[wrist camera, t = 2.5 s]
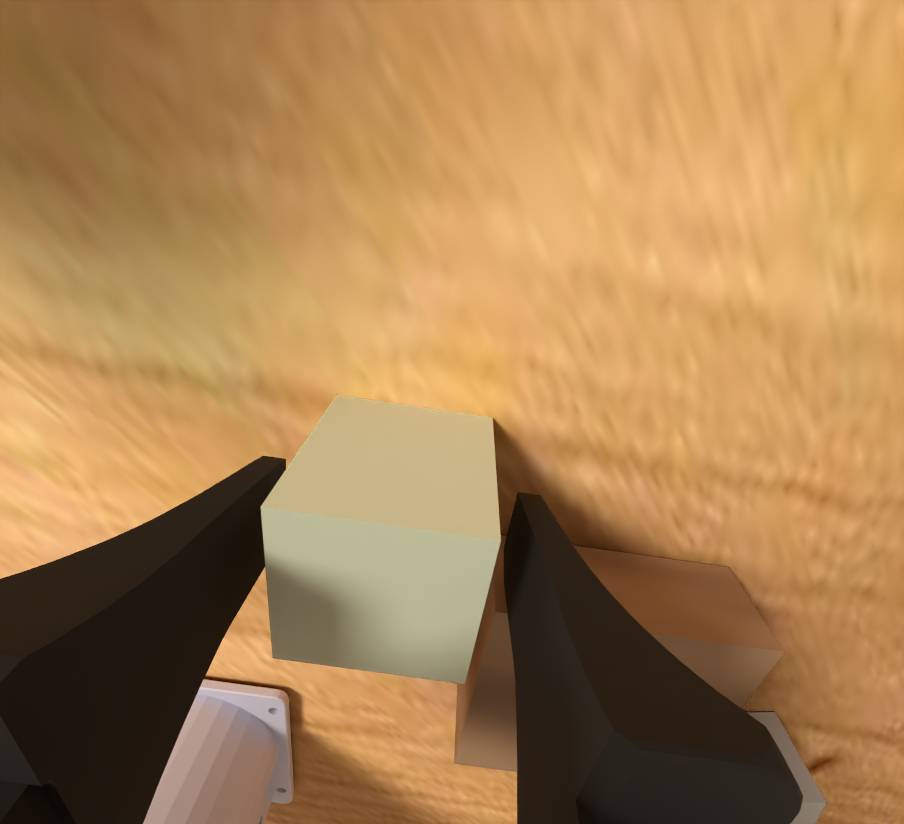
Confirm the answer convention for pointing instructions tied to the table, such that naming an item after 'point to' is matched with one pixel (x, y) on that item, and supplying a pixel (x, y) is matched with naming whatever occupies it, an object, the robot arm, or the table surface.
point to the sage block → (384, 540)
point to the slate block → (794, 769)
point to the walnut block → (654, 607)
